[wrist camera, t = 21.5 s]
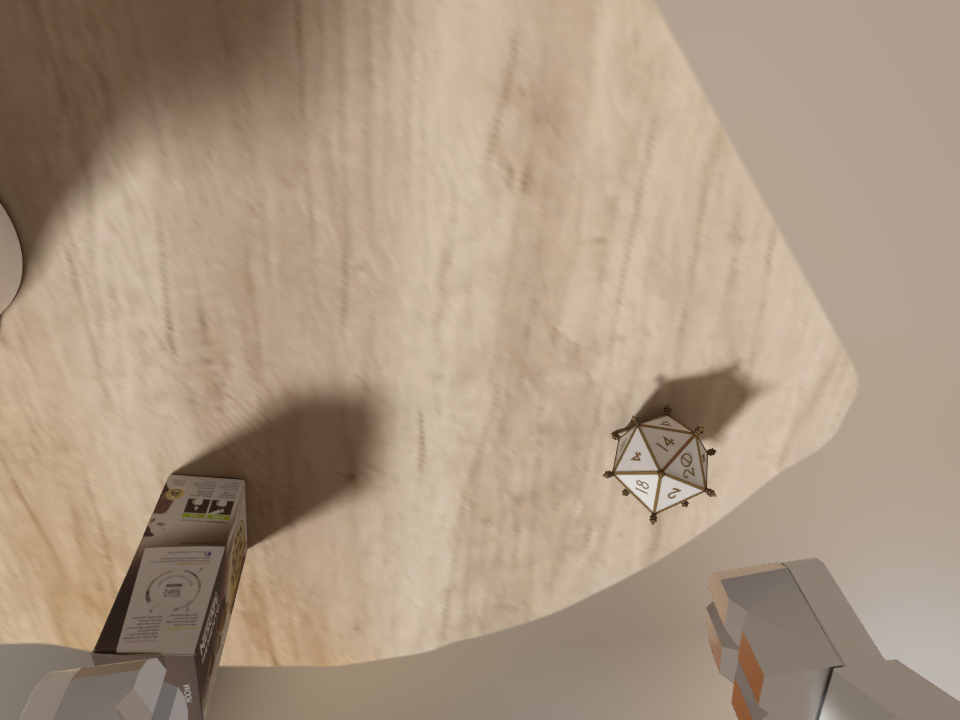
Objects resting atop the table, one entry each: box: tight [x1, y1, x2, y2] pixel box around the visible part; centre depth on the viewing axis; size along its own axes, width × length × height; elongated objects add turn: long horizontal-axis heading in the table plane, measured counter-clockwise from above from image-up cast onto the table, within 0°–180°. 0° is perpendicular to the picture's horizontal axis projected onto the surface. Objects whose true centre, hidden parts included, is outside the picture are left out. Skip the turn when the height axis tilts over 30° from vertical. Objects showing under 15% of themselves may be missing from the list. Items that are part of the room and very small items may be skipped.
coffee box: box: [92, 475, 247, 720], centre depth 52 cm, size 9×6×16 cm
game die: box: [603, 405, 716, 525], centre depth 54 cm, size 9×8×10 cm
